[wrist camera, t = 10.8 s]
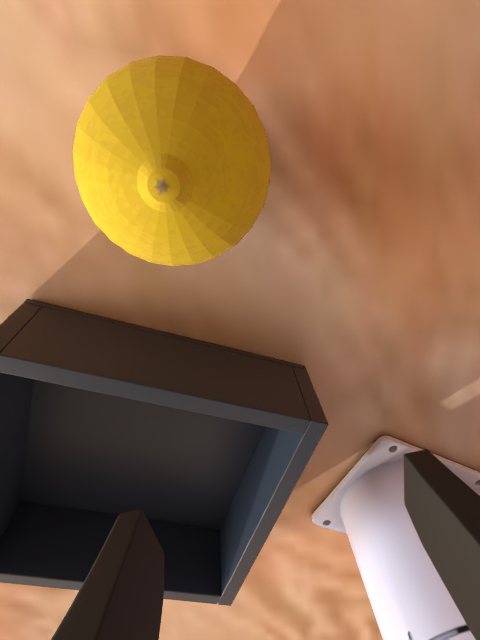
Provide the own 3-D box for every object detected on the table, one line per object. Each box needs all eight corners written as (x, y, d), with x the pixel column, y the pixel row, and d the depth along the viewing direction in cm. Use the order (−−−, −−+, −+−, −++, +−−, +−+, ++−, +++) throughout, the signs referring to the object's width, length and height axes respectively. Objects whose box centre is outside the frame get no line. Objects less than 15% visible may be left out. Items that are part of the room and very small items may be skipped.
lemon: (126, 51, 13) (31, -36, 6) (274, 107, 14) (337, 86, 7) (101, 207, 16) (12, 274, 8) (231, 245, 17) (248, 331, 10)
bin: (305, 365, 20) (328, 424, 16) (227, 532, 25) (230, 606, 21) (27, 298, 17) (-27, 348, 13) (7, 501, 23) (-35, 579, 19)
